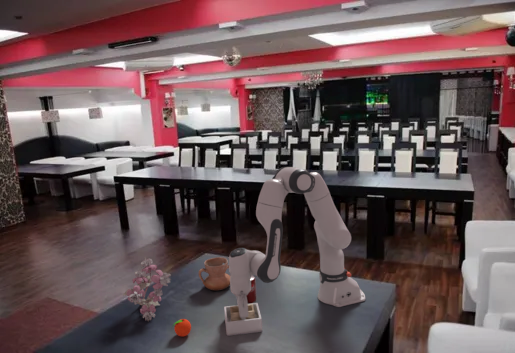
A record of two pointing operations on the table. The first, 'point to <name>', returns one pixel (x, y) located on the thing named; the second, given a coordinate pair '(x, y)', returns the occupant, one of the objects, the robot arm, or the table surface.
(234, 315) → the birch crate
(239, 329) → the grey crate
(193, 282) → the table surface
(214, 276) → the ceramic jug
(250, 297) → the soda can
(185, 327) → the clementine
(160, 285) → the flower
